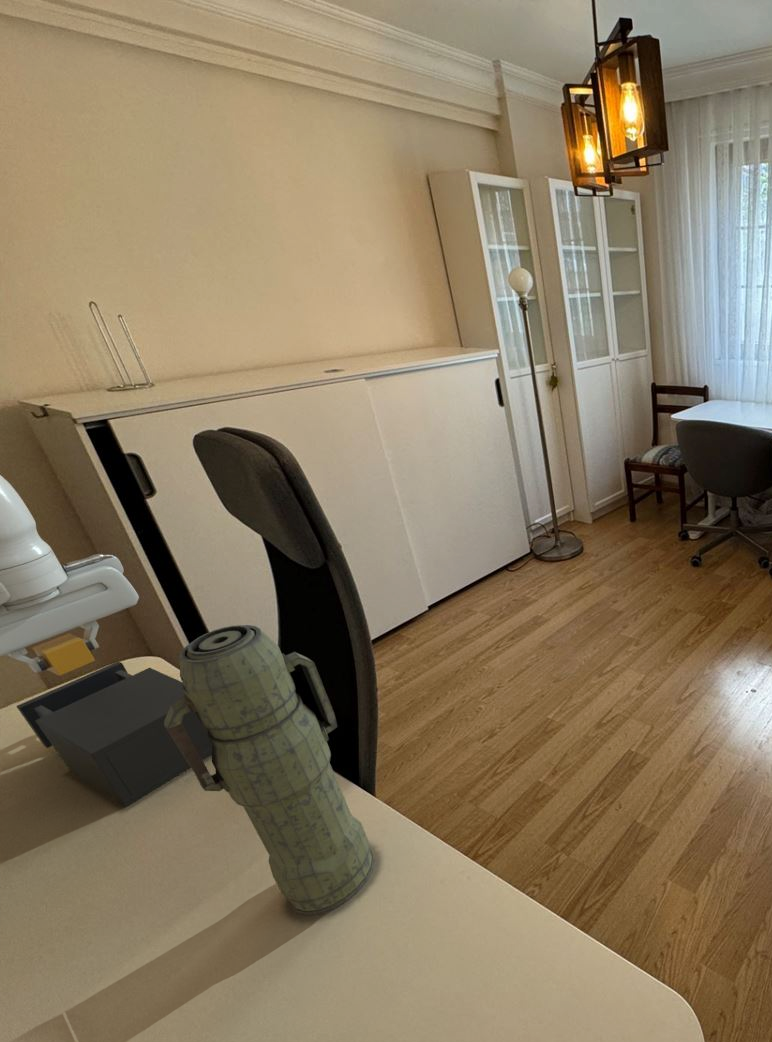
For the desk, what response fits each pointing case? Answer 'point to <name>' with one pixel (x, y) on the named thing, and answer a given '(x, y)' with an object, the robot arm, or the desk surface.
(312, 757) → the thermos
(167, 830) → the desk surface
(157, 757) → the cabinet
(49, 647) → the block
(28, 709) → the drawer
